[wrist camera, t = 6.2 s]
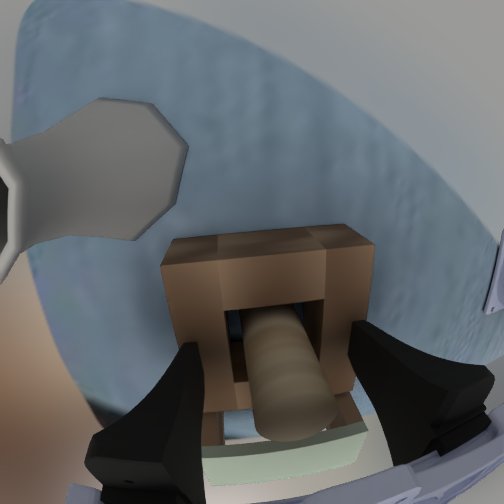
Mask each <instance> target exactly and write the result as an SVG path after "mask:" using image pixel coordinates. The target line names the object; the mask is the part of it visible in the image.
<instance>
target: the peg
mask: <svg viewBox="0 0 504 504" xmlns="http://www.w3.org/2000/svg"><path fill="white" fill-rule="evenodd" d="M239 313H240V321H241V329H242V336H243V344H244V351H245V359H246V366H247V373H248V381H249V388H250V395H251V402H252V409H253V415H254V422H255V428H256V431H257V432H258V433H259V434H260V435H261V436H262V437H264V438H266V439H269V440H273V441H279V442H289V441H296V440H301V439H305V438H308V437H310V436H313V435H315V434H317V433H319V432H320V431H322V430H323V429H325V428H326V427H327V426H328V425H330V423H331V422H332V421H333V420H334V419H335V417H336V415H337V412H338V404H337V402H336V399H335V397H334V395H333V392H332V390H331V388H330V386H329V383H328V381H327V379H326V377H325V374H324V372H323V370H322V368H321V365H320V363H319V361H318V359H317V356H316V354H315V352H314V350H313V347H312V345H311V343H310V341H309V338H308V336H307V334H306V332H305V330H304V327H303V325H302V323H301V321H300V319H299V316H298V314H297V312H296V310H295V308H294V305H293V303H290V304H282V305H273V306H265V307H256V308H247V309H239Z"/></svg>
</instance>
